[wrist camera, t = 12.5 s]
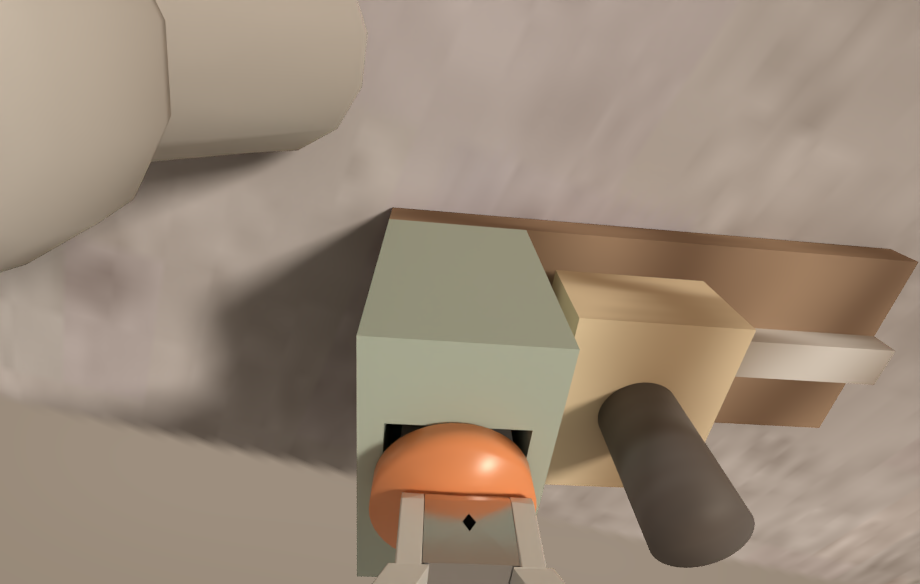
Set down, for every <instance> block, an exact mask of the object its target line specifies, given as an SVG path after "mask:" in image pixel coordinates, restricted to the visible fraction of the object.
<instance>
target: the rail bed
mask: <svg viewBox="0 0 920 584" xmlns="http://www.w3.org/2000/svg"><path fill="white" fill-rule="evenodd" d="M389 219H396V220H408V221H420V222H433V223H445V224H457V225H469V226H482V227H494V228H506V229H518V230H527V233H528V235H529V237H530V239H531V242H532V244H533V246H534V248H535V251H536V253H537V255H538V257H539V259H540V262H541V264H542V266H543V268H544V271H545V273H546V275H547V277H548V280H549V282H550V284H551V286H552V284H553V280H554V275H555V270H563V271H576V272H589V273H603V274H616V275H629V276H642V277H656V278H669V279H682V280H695V281H704V282H705V283H706V284H707V285H708V286H709V287H710V288H711V289H713V290H714V291H715V292H716V293H717V294H718V295H719V296H720V297H721V298H722V299H723V300H724V301H725V302H727V303H728V304H729V305H730V306H731V307H732V308H733V309H734V310H735V311H736V312H737V313H738V314H740V315H741V316H742V317H743V318H744V319H745V320H746V321H747V322H748V323H749V324H750V325H751V326H753V327H754V328H755V329H756V332H755V334H754V336H753V338H752V341H751V343H750V345H749V347H748V349H747V351H746V354H745V356H744V358H743V360H742V362H741V365H740V367H739V369H738V371H737V373H736V375H735V378H734V380H733V382H732V384H731V386H730V389H729V391H728V393H727V395H726V397H725V399H724V402H723V404H722V406H721V408H720V410H719V412H718V415H717V417H716V419H715V421H714V422H716V423H735V424H755V425H775V426H794V427H814V428H819V427H820V425H821V424H822V422H823V420H824V419H825V417H826V415H827V414H828V412H829V410H830V409H831V407H832V405H833V404H834V402H835V400H836V399H837V397H838V395H839V394H840V392H841V390H842V389H843V387H844V385H845V384H846V383H852V384H868V385H874V384H875V382H876V381H877V379H878V378H879V376H880V374H881V373H882V371H883V370H884V368H885V367H886V365H887V363H888V362H889V360H890V359H891V357H892V356H893V354H894V352H895V350H893V349H892V348H890V347H889V346H887V345H886V344H884V343H883V342H882V341H880V340H879V339H877V338H876V337H874V335H875V334H876V332H877V330H878V329H879V327H880V325H881V324H882V322H883V320H884V319H885V317H886V315H887V314H888V312H889V310H890V309H891V307H892V305H893V304H894V302H895V300H896V299H897V297H898V295H899V294H900V292H901V290H902V289H903V287H904V285H905V284H906V282H907V280H908V279H909V277H910V275H911V274H912V272H913V270H914V269H915V267H916V265H917V264H918V262H917V261H915V260H913V259H911V258H908V257H906V256H904V255H902V254H900V253H898V252H896V251H894V250H891V249H883V248H871V247H859V246H847V245H835V244H823V243H811V242H799V241H787V240H775V239H763V238H751V237H739V236H727V235H715V234H703V233H691V232H679V231H667V230H655V229H643V228H631V227H619V226H607V225H595V224H583V223H571V222H559V221H547V220H535V219H523V218H511V217H499V216H487V215H476V214H464V213H452V212H440V211H428V210H416V209H404V208H392V211H391V215H390V218H389Z"/></svg>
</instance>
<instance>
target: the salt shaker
mask: <svg viewBox="0 0 920 584" xmlns="http://www.w3.org/2000/svg"><path fill="white" fill-rule="evenodd" d="M367 34H368V33H367V30H366V26H365V23H364V20H363V17H362V13H361V10H360V7H359V4H358V0H0V272H2V271H6V270H9V269H12V268H16V267H19V266H22V265H26V264H28V263H29V262H31V261H33V260H35V259H36V258H38V257H40V256H42V255H43V254H45V253H47V252H49V251H50V250H52V249H54V248H56V247H57V246H59V245H61V244H63V243H64V242H66V241H68V240H70V239H71V238H73V237H75V236H76V235H78V234H80V233H82V232H83V231H85V230H87V229H89V228H90V227H92V226H94V225H96V224H97V223H99V222H101V221H102V220H104V219H105V218H107V217H108V216H110V215H111V214H113V213H114V212H115V211H117V210H118V209H120V208H121V207H123V206H124V205H126V204H127V203H129V202H130V201H132V200H133V199H134V197H135V195H136V193H137V191H138V189H139V187H140V185H141V183H142V180H143V178H144V176H145V174H146V171H147V169H148V167H149V165H150V162H154V161H165V160H177V159H188V158H199V157H210V156H221V155H232V154H243V153H256V152H275V151H293V150H299V149H301V148H303V147H305V146H306V145H308V144H310V143H312V142H314V141H316V140H317V139H319V138H321V137H323V136H325V135H327V134H328V133H330V132H332V131H334V130H336V129H337V128H338V126H339V125H340V123H341V121H342V120H343V118H344V116H345V115H346V113H347V111H348V109H349V108H350V106H351V104H352V103H353V101H354V99H355V98H356V96H357V94H358V93H359V91H360V89H361V88H362V81H363V71H364V62H365V52H366V43H367Z"/></svg>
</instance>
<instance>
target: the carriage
mask: <svg viewBox="0 0 920 584" xmlns="http://www.w3.org/2000/svg"><path fill="white" fill-rule="evenodd" d="M552 289H553V291H554V293H555V295H556V297H557V300H558V302H559V304H560V306H561V309H562V311H563V313H564V315H565V318H566V320H567V322H568V324H569V326H570V329H571V331H572V333H573V335H574V338H575V340H576V342H577V344H578V347H579V349H580V351H579V355H578V359H577V363H576V366H575V370H574V374H573V378H572V382H571V385H570V389H569V393H568V397H567V401H566V405H565V408H564V412H563V416H562V420H561V424H560V428H559V431H558V435H557V439H556V443H555V447H554V451H553V454H552V458H551V462H550V466H549V470H548V473H547V477H546V481H545V484H550V485H575V486H601V487H624V489H625V491H626V494H627V496H628V499H629V501H630V503H631V506H632V508H633V511H634V513H635V516H636V518H637V521H638V523H639V526H640V528H641V530H642V533H643V535H644V538H645V540H646V543H647V545H648V547H649V550H650V552H651V554H652V555H653V556H654V557H655V558H656V559H657V560H658V561H660V562H662V563H664V564H667V565H670V566H675V567H684V568H687V567H699V566H705V565H709V564H712V563H715V562H718V561H720V560H723V559H725V558H727V557H729V556H731V555H732V554H734V553H735V552H737V551H738V550H739V549H741V548H742V547H743V546H744V545H745V544H746V543H747V542H748V540H749V539H750V537H751V535H752V533H753V530H754V525H755V523H754V518H753V515H752V514H751V512H750V511H749V509H748V508H747V506H746V505H745V503H744V502H743V500H742V499H741V497H740V496H739V494H738V492H737V491H736V489H735V488H734V486H733V485H732V483H731V482H730V480H729V479H728V477H727V476H726V474H725V473H724V471H723V470H722V468H721V466H720V465H719V463H718V462H717V460H716V459H715V457H714V456H713V454H712V453H711V451H710V450H709V448H708V447H707V445H706V444H705V441H706V439H707V436H708V434H709V432H710V430H711V428H712V426H713V423H714V421H715V419H716V417H717V415H718V412H719V410H720V408H721V406H722V404H723V402H724V399H725V397H726V395H727V393H728V391H729V389H730V386H731V384H732V382H733V380H734V378H735V375H736V373H737V371H738V369H739V367H740V365H741V362H742V360H743V358H744V356H745V354H746V351H747V349H748V347H749V345H750V343H751V341H752V338H753V336H754V334H755V332H756V329H755V328H754V327H753V326H751V325H750V324H749V323H748V322H747V321H746V320H745V319H744V318H743V317H742V316H741V315H740V314H738V313H737V312H736V311H735V310H734V309H733V308H732V307H731V306H730V305H729V304H728V303H727V302H725V301H724V300H723V299H722V298H721V297H720V296H719V295H718V294H717V293H716V292H715V291H714V290H713V289H711V288H710V287H709V286H708V285H707V284H706V283H705V282H704V281H695V280H682V279H669V278H656V277H642V276H629V275H616V274H603V273H589V272H576V271H563V270H555V275H554V280H553V284H552Z"/></svg>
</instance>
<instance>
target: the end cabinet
mask: <svg viewBox="0 0 920 584" xmlns="http://www.w3.org/2000/svg"><path fill="white" fill-rule="evenodd" d="M579 351H580V349H579V347H578V344H577V342H576V340H575V338H574V335H573V333H572V331H571V329H570V326H569V324H568V322H567V320H566V318H565V315H564V313H563V311H562V309H561V306H560V304H559V302H558V300H557V297H556V295H555V293H554V291H553V289H552V286H551V284H550V282H549V280H548V277H547V275H546V273H545V271H544V268H543V266H542V264H541V262H540V259H539V257H538V255H537V253H536V251H535V248H534V246H533V244H532V242H531V239H530V237H529V235H528V233H527V230H518V229H506V228H494V227H482V226H469V225H457V224H445V223H433V222H420V221H408V220H396V219H389V222H388V225H387V229H386V232H385V236H384V240H383V243H382V247H381V250H380V254H379V257H378V261H377V264H376V268H375V272H374V275H373V279H372V282H371V286H370V289H369V293H368V296H367V300H366V304H365V307H364V311H363V314H362V318H361V321H360V325H359V328H358V332H357V336H356V359H357V576H367V577H369V576H371V577H377V576H378V575H379V574H380V572H381V571H382V570H383V568H384V567H385V566H386V565H387V563H395V553H396V549H395V548H393V547H391V546H390V545H389V544H387V543H386V542H385V541H384V540H383V539H382V538H381V537H380V536H379V535H378V533H377V532H376V531H375V529H374V527H373V525H372V523H371V520H370V516H369V502H370V495H371V488H372V482H373V475H374V470H375V467H376V464H377V462H378V460H379V458H380V457H381V455H382V454H383V453H384V451H385V450H386V449H387V448H388V447H389V446H390V445H391V444H392V443H394V442H395V441H396V440H398V439H399V438H401V432H402V424H407V425H428V426H432V425H437V424H445V423H464V424H473V425H478V426H482V427H485V428H490V429H511V434H512V440H513V442H514V443H515V444H516V445H517V446H518V447H519V448H520V449H521V450H522V452H523V453H524V455H525V456H526V459H527V461H528V463H529V467H530V471H531V476H532V481H533V486H534V490H535V495H536V503H537V507H536V516H537V512H538V508H539V504H540V500H541V496H542V493H543V489H544V485H545V481H546V477H547V473H548V470H549V466H550V462H551V458H552V454H553V451H554V447H555V443H556V439H557V435H558V431H559V428H560V424H561V420H562V416H563V412H564V408H565V405H566V401H567V397H568V393H569V389H570V385H571V382H572V378H573V374H574V370H575V366H576V363H577V359H578V355H579Z"/></svg>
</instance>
